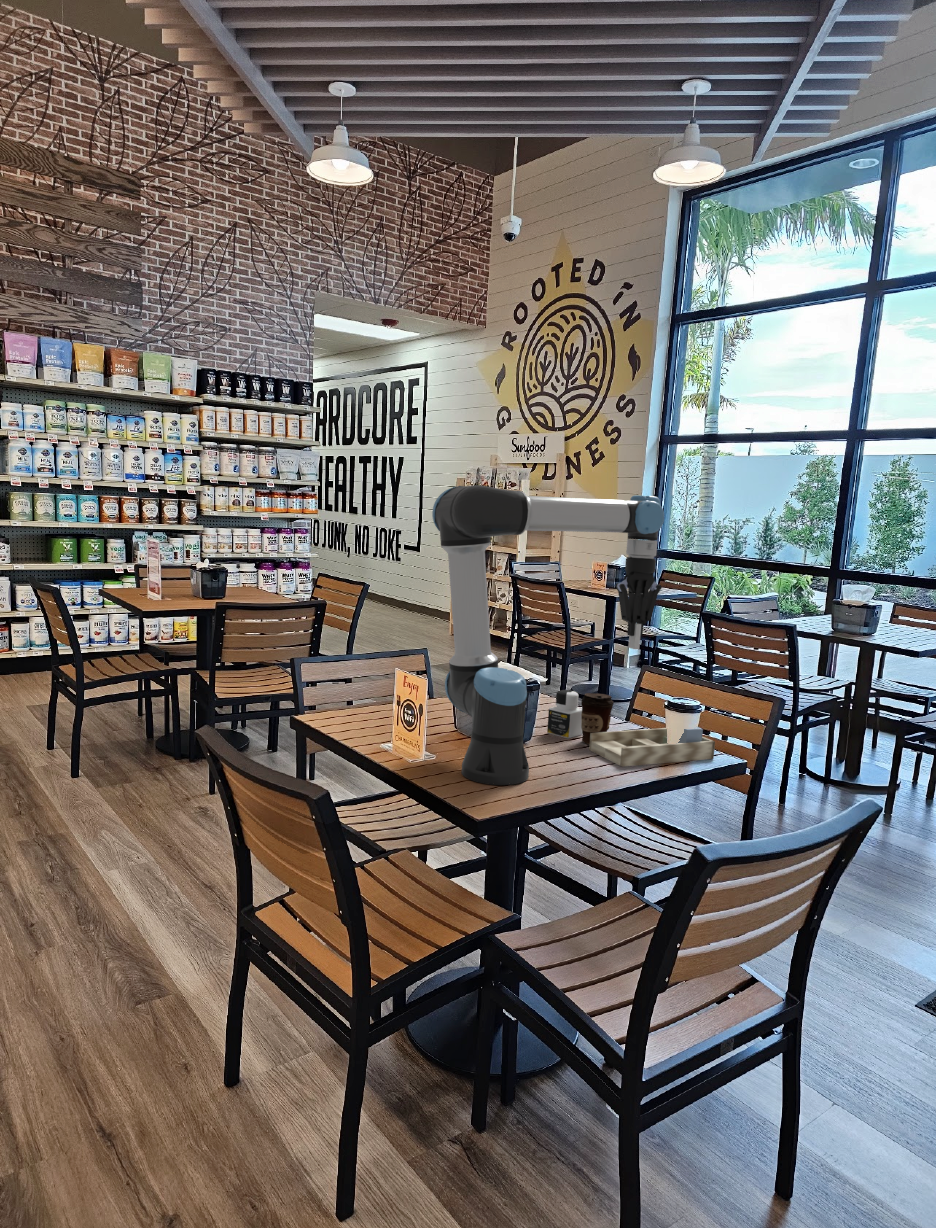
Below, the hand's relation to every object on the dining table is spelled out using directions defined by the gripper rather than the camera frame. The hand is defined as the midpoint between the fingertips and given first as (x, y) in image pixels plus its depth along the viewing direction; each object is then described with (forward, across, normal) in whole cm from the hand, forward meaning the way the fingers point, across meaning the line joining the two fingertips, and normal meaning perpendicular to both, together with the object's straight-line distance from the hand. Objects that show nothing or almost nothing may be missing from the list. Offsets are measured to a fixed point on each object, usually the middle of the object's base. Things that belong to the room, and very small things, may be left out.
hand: (633, 648), depth 205 cm
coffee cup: (+27, -6, +6) cm, 28 cm away
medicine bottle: (+27, -9, +16) cm, 32 cm away
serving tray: (+26, +3, -7) cm, 27 cm away
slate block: (+24, +12, -10) cm, 28 cm away
